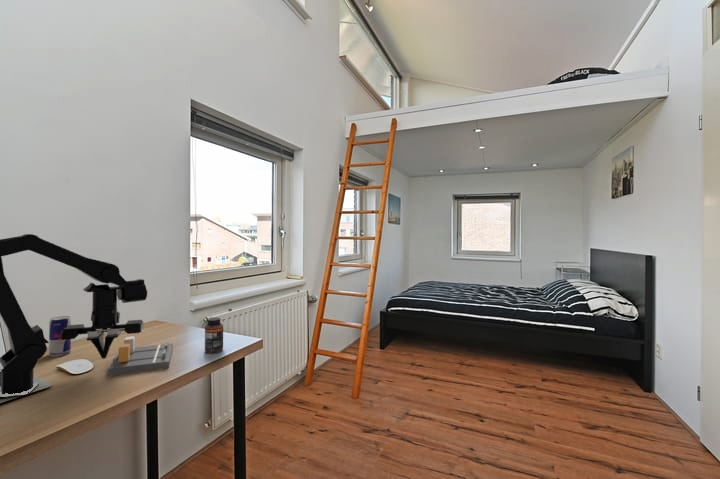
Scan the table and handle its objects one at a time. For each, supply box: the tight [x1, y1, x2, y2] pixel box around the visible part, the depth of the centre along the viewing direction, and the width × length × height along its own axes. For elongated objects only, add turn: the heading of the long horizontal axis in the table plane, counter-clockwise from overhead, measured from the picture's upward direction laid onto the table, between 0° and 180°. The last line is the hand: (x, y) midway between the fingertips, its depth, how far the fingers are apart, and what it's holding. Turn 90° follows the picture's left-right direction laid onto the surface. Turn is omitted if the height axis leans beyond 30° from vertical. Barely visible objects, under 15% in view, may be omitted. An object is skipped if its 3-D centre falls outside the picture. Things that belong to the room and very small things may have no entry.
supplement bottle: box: [204, 316, 224, 354], centre depth 117 cm, size 6×6×11 cm
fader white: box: [123, 335, 136, 353], centre depth 108 cm, size 3×2×4 cm
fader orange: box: [118, 343, 130, 362], centre depth 101 cm, size 3×2×4 cm
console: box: [107, 341, 174, 377], centre depth 106 cm, size 18×15×4 cm
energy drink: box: [48, 315, 72, 358], centre depth 110 cm, size 5×5×12 cm
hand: (104, 358), depth 98 cm, fingers closed
